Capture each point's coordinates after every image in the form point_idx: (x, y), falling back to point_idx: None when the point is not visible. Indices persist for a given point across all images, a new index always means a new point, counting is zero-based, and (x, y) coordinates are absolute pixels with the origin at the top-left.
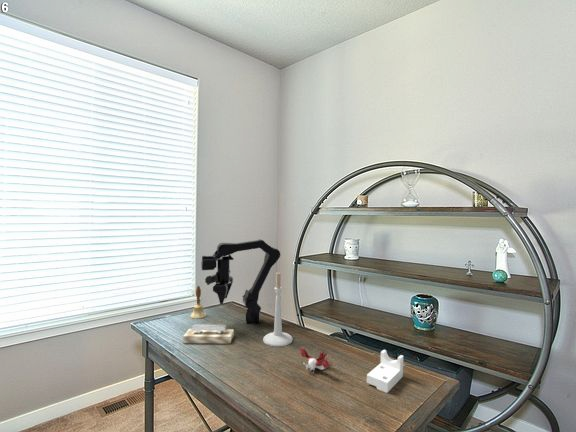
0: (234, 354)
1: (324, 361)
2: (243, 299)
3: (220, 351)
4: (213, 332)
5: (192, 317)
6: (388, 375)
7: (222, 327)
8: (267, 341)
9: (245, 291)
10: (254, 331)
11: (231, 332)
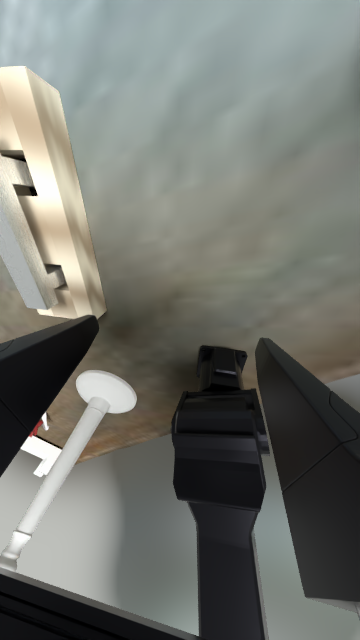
0: (11, 315)
1: None
2: (233, 423)
3: (5, 281)
4: (43, 252)
5: None
6: (28, 450)
7: (25, 298)
8: (80, 379)
9: (259, 489)
10: (146, 359)
11: (67, 316)
